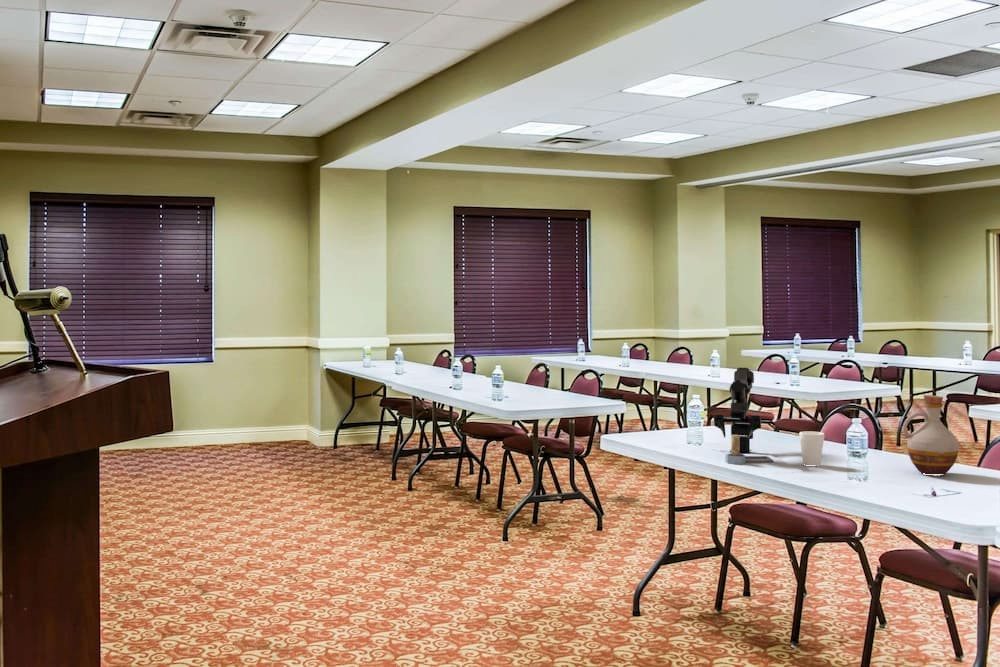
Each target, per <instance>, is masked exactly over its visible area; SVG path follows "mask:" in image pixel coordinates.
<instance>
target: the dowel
mask: <svg viewBox="0 0 1000 667" xmlns="http://www.w3.org/2000/svg"><path fill="white" fill-rule="evenodd" d="M730 435H731V434H730ZM740 436H741V435H734V434H733V435H731V436H730V439H731V440H730V441H731V443H730V444H731V445H730V446H731V448H730V449H731V453H730V454H731V456H740V454H741V453H740Z"/></svg>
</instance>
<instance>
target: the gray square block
mask: <svg viewBox="0 0 1000 667" xmlns="http://www.w3.org/2000/svg"><path fill="white" fill-rule="evenodd" d="M745 456H746V455H745V454H744V453H740V456H731V453H727V454H725V463H726V464H730V465H743V464H746V462H745Z"/></svg>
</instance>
